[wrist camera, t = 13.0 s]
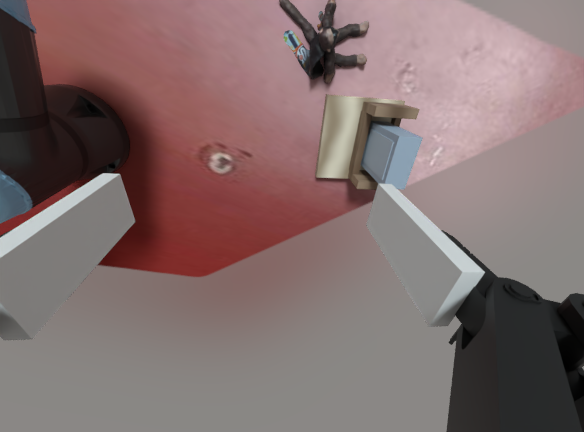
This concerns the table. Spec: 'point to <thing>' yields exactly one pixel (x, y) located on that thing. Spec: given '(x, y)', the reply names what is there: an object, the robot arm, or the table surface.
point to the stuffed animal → (322, 42)
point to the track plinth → (353, 135)
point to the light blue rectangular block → (390, 153)
